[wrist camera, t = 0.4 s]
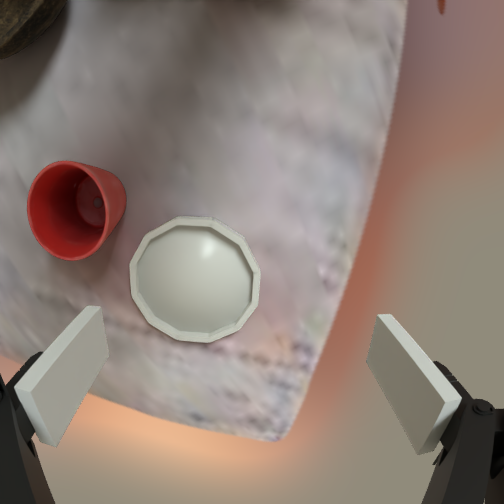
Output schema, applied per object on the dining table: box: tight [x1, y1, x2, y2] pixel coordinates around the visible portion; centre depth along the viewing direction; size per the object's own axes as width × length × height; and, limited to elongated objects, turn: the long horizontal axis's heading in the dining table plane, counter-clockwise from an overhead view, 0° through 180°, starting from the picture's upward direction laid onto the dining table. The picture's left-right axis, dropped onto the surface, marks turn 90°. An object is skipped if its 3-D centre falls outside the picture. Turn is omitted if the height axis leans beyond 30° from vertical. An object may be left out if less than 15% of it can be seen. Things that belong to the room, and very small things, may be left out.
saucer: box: [129, 216, 261, 343], centre depth 40 cm, size 17×17×2 cm
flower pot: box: [27, 161, 126, 261], centre depth 33 cm, size 11×11×10 cm
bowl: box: [0, 0, 67, 59], centre depth 24 cm, size 22×22×10 cm
